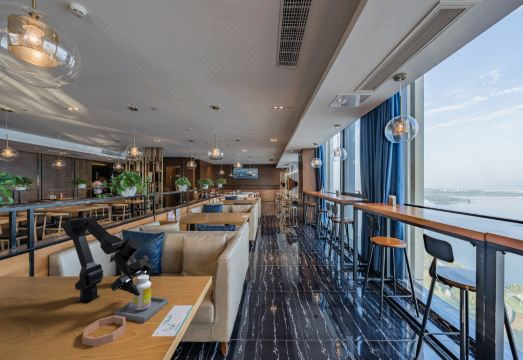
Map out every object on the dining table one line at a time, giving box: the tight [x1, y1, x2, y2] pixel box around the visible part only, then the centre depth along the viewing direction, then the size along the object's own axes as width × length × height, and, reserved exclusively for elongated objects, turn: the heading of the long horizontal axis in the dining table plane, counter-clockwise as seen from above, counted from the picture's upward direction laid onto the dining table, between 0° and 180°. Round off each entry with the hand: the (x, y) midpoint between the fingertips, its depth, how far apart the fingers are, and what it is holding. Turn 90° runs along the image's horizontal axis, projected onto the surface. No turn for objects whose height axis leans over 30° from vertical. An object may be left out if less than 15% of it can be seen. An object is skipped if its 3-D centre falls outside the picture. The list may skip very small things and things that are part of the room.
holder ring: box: [81, 314, 127, 348], centre depth 82 cm, size 13×13×2 cm
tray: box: [113, 295, 169, 323], centre depth 97 cm, size 15×15×2 cm
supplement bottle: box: [133, 275, 152, 310], centre depth 97 cm, size 7×7×13 cm
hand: (145, 291), depth 97 cm, fingers closed on supplement bottle, 7 cm apart
